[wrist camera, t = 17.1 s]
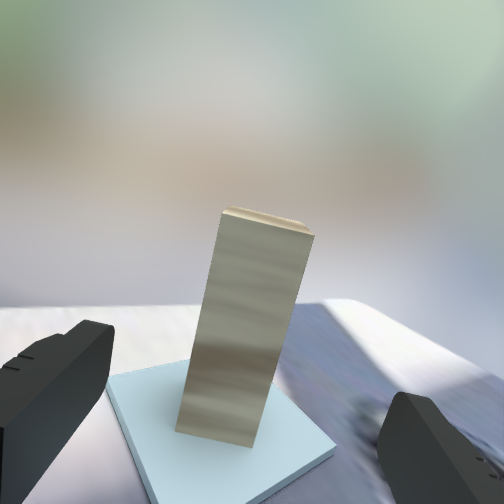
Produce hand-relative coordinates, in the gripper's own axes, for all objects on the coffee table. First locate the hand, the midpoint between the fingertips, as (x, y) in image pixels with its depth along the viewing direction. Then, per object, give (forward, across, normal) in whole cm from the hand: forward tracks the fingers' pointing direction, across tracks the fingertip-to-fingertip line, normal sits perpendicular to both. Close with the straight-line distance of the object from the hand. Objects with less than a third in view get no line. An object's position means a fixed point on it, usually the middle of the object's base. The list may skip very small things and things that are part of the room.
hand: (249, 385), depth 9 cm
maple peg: (+11, 0, +11) cm, 15 cm away
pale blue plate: (+11, 0, +12) cm, 16 cm away
